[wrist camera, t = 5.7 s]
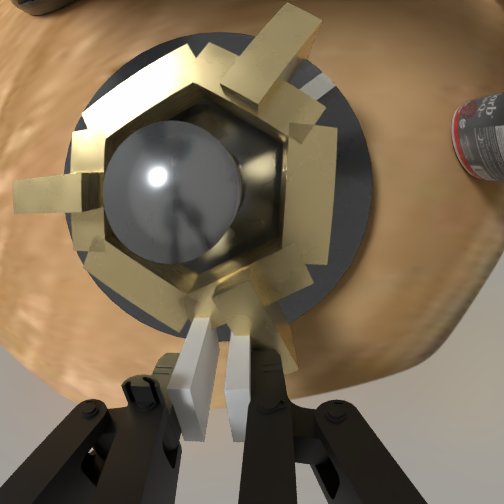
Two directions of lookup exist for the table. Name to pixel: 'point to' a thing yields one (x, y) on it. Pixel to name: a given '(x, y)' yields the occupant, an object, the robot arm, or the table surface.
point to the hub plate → (264, 179)
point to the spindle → (172, 191)
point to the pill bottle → (480, 137)
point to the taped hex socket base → (291, 193)
